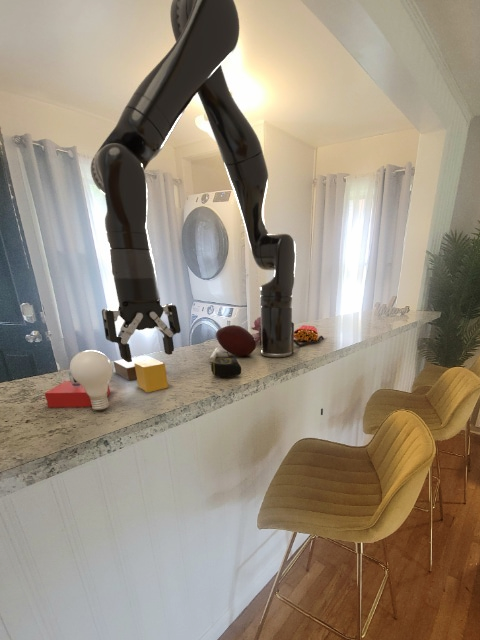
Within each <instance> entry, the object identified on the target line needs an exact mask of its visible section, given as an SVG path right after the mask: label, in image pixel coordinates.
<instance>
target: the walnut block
mask: <svg viewBox="0 0 480 640" xmlns="http://www.w3.org/2000/svg"><path fill="white" fill-rule="evenodd" d="M154 359H155V358H153V357H150V356H149V355H143V356H137V357H132V362H126V361H125V360H124V359H119V360H114V361H113V368H114V372H115V374H116V375H118V376H120V377H122V378H123V379H126V380H127V381H134V380H135V381H136V380H137V375H136V370H135V364H134V363H137V362H143V361H149V360H154ZM155 360H157V359H155Z"/></svg>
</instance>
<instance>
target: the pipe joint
mask: <svg viewBox="0 0 480 640" xmlns="http://www.w3.org/2000/svg"><path fill="white" fill-rule="evenodd" d="M217 358H229V352H227V351H221V348H220V347H219V346H218V347H216V348H215V349H214V351H213V352H212V353H211V354H210V357H208V361H209V363H212V361H213V360H215V359H217Z"/></svg>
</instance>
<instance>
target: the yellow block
mask: <svg viewBox="0 0 480 640" xmlns="http://www.w3.org/2000/svg"><path fill="white" fill-rule="evenodd" d="M153 359H154V360H149V361H143V362H137V363H134V364H135V370H136V375H137V379H136V381H137V386H138V388H139V389H141V390H143V391H144V392H146V393H152V392H156V391H160V390H164V389H168V388H169V385H168V377H167V370H166V363H165V362H162V361H160V360H159V359H156V360H155V358H153Z"/></svg>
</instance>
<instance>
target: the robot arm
mask: <svg viewBox="0 0 480 640" xmlns="http://www.w3.org/2000/svg"><path fill="white" fill-rule="evenodd" d="M169 14H170V24H171V29H172V33H173V37H174V41H175V42H174V44H173V46H172V47H171V48H170V50H169V51H168V52H167V53H166V54H165V56H163V58H162V59H161V60H160V61H159V62H158V63H157V64H156V65H155V67H153V68H152V70H151V71H150V72H149V73H148V74H147V75H146V76H145V77H144V79H143V80H142V81H141V82H140V83H139V84H138V86H137V88H136V89H135V90H134V93H133V94H132V96H131V97H130V99H129V100H128V102H127V103H126V105H125V107H124V109H123V110H122V112H121V115H120V116H119V119H118V121H117V123H116V125H115V127H114V128H113V130H112V131H110V133H109V134H108V136H107V137H106V138H105V140H104V142H103V143H102V144H101V146H100V147H99V148H98V150H97V151H96V153H95V154H94V156H93V157H92V159H91V163H90V175H91V178H92V180H93V183H94V184H95V187H96V188H97V189H98V190H99V191H100V192H101V193H103V194H104V198H105V203H106V214H105V216H104V227H105V232H106V238H107V244H108V248H109V256H110V265H111V274H112V276H113V282H114V287H115V291H116V296H117V301H118V309H108V308H103V309H102V310H101V316H102V322H103V330H104V336H105V339H106V340H107V341H109V342H111V343H116V344H117V346H118V350H119V355H120V358H121V360H125V361H126V362H132V358H133V357H132V353H131V346H130V344H129V343H128V342H129V340H130V338H131V337H132V336H133V335H134V334H135V332H136V330H137V331H143V330H146V329H148V330H149V329H150V330H151V329H152V330H153V329H155V328H156V329H157V330H158V331H160V333H161V334H162V335H163V336H162V342H163V344H162V345H163V351H164V354H166V355H168V356H170V355H173V352H174V351H175V346H174V339H173V338H174V335H176V334H180V333H181V330H182V329H181V324H180V319H179V314H178V308H177V306H176V305H175V304H172V303H166V304H165V305H162V304H161V297H160V295H161V294H160V288H159V283H158V276H157V269H156V263H155V258H154V256H153V251H152V245H151V239H150V231H149V228H148V183H147V182H148V181H147V177H146V173H145V170H146V168H147V167H148V165H149V163H150V162H151V161H152V160H153V159H154V158H155V157H157V156H158V155H159V154H160V153H161V151H162V150H163V148H164V147H165V145H166V143H167V142H168V140H169V138H170V136H171V134H172V133H173V131H174V129H175V128H176V126H177V124H178V123H179V121H180V119H181V118H182V116H183V115H184V113H185V112H186V110H187V108H188V107H189V106H190V104H191V102H192V101H193V99H194V98H195V96H196V95H198V97H199V100H200V102H201V104H202V107H203V109H204V112H205V115H206V118H207V121H208V124H209V126H210V129H211V131H212V133H213V137H214V139H215V142H216V145H217V147H218V150H219V153H220V157H221V160H222V163H223V166H224V169H225V172H226V175H227V177H228V180H229V182H230V185H231V188H232V190H233V193H234V196H235V199H236V201H237V205H238V208H239V211H240V214H241V217H242V220H243V223H244V227H245V231H246V235H247V240H248V243H249V247H250V250H251V251H250V252H251V254H252V257H253V260H254V262H255V264H256V265H257V267H258V268H259V269H261V270H262V271H263V270H264V271H274V274H273V277H272V279H270V280H269V281H267V282H265V283H263V284H261V285H260V287H259V294H260V296H259V297H260V299H259V301H260V304H259V305H260V317H261V340H260V341H259V346H260V347H261V349H260V354H261V355H262V356H264V357H268V358H287V357H290V356H292V354H294V349H295V347H294V344H295V345H296V346H297V347H303V346H306V345H312V344H316V343H319V342H320V341H321V340H324V339H325V338H324V336H323V335H319V336H318V337H317V338H318V340H314V341H310V342H308V341H305V342H303V343H299V342H298V340H297V339H295V337H294V331H295V322H293V289H294V287H295V275H296V274H295V273H296V272H295V271H296V256H297V255H296V253H297V252H296V243H295V241H294V237H292V236H291V234H288V233H269V231H268V229H267V226H266V221H265V217H264V206H265V201H266V195H267V191H268V184H269V170H268V167H267V163H266V159H265V155H264V151H263V148H262V145H261V142H260V139H259V137H258V135H257V133H256V132H255V130H254V128H253V127H252V124H251V123H250V121H248V119H247V118H246V116H245V114H244V113H243V112H242V111H241V109H240V107H239V106H238V104H237V103H236V101H235V99H234V97H233V95H232V93H231V91H230V88H229V86H228V83H227V80H226V77H225V73H224V71H223V67H222V64H223V63H224V62H225V61H226V60H227V59H228V58H229V57H230V55H232V53H234V51H235V49H236V47H237V45H238V42H239V38H240V18H239V13H238V9H237V5H236V3H235V0H172V1H171V4H170V13H169ZM163 313H164V314H165V315H166V316H167V320H168V325H167V324H166V323H165V322H164V321H163V320H162V319H161V318H162V316H163ZM118 317H120V318H121V320H123V323H122V325H121V326H120V331H119V332H118V333H117V329H116V322H117V321H118ZM168 326H169V327H168ZM323 414H324V408H322V407H321V409H320V415H321V416H323Z"/></svg>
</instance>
